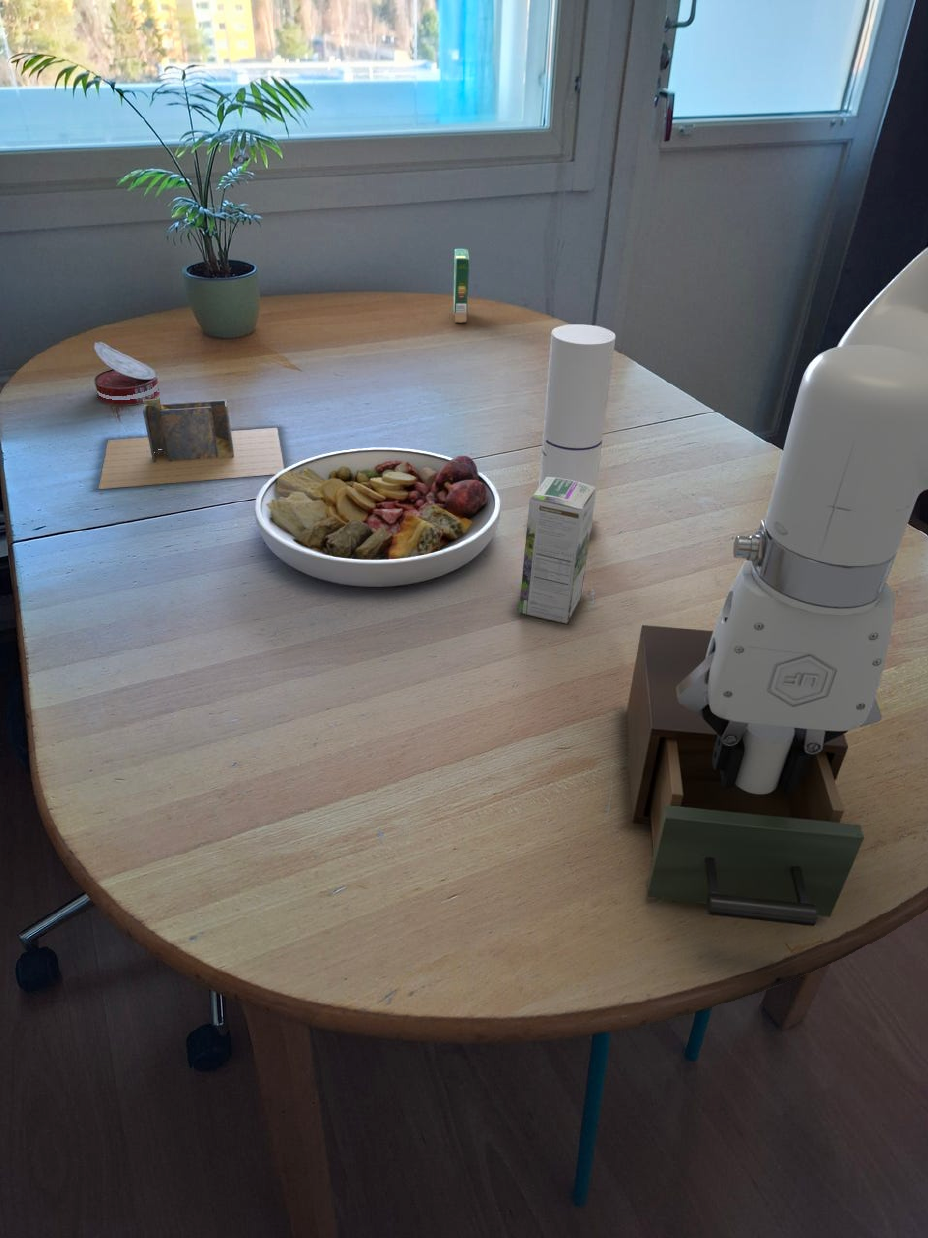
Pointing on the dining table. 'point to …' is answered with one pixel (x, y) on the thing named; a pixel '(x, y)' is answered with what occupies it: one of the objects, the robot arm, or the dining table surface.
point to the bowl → (378, 515)
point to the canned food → (123, 377)
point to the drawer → (747, 839)
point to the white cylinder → (763, 757)
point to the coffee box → (461, 280)
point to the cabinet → (672, 706)
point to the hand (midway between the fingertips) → (754, 775)
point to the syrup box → (556, 548)
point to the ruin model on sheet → (189, 448)
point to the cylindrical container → (576, 402)
